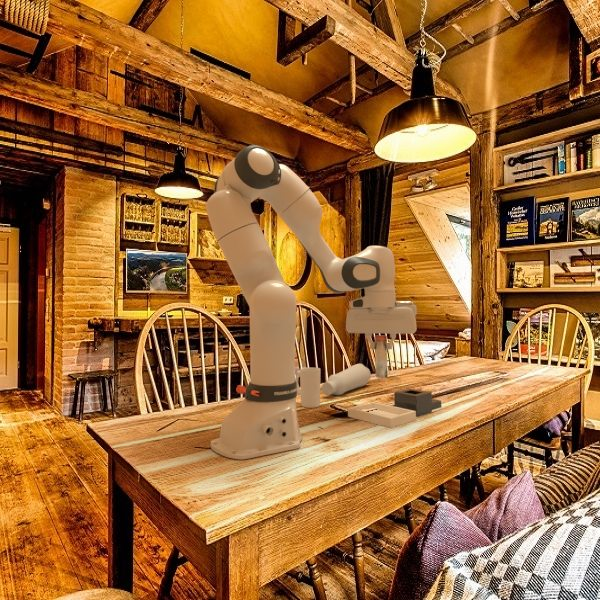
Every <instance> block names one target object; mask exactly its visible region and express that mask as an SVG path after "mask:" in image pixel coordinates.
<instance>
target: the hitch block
mask: <svg viewBox="0 0 600 600" xmlns="http://www.w3.org/2000/svg"><path fill="white" fill-rule="evenodd" d="M432 394H433V392H431V391H425V390H421V389H420V390H419V389H414V388H406V389H401V390H398V391H394V396H393V397H394V398H393V399H394V403H393V404H394V405H393V406H394V407H399V408H403V409H408V410H413V411H416V418H417V417H419V416H420V417H421V416H424V415H426V414H430V413H432V412H433V410H435V409H439V408H441V407H442V400H440V399H435V398H433V395H432Z"/></svg>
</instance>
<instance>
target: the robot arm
mask: <svg viewBox="0 0 600 600" xmlns="http://www.w3.org/2000/svg"><path fill="white" fill-rule="evenodd" d="M214 183H215V184H214V189H213V194H211V196H210V197H209V198H208V199H207V202H206V204H205V210H206V213H207V217H208V220H209V224H210V227H211V229H212V232H213V234H214V237H215V239H216V241H217V244H218V246H219V248H220V250H221V252H222V253H223V256H224V258H225V261H226V263H227V265H228V266H229V268H230V270H231V273H232V275H233V276H234V278H235V280H236V282H237V285H238V286H239V288H240V290H241V292H242V295H243V297H244V299H245V301H246V303H247V305H248V307H249V345H250V347H249V348H250V349H249V354H250V355H249V356H250V357H249V359H250V362H249V363H250V364H249V366H250V367H249V369H250V371H249V372H250V373H249V374H250V379H249V380H250V381H249V382H248V385H247V386H245V385H242V384H239V385H237V387H236V389H235V391H236V392H237V394H240V395H244V396H243V400H242V401H240V403H238V405H237V406H236V407H235V408H233V409H232V410H231V411H230V412H229V413H228V414H227V415H226V416H225V417H223V419H222V423H221V427H220V433H219V437H217V438H214V439H212V440H211V441H210V445H209V446H210V449H211V450H212V451H214V452H215V453H217V454H218V455H221V456H223V457H226V458H229V459H232V460H233V459H235V460H240V461H241V460H247V459H252V458H258V457H263V456H267V455H271V454H272V455H273V454H277V453H278V454H279V453H282V452H286V451H293V450H296V449H300V448H301V441H302V440H303V436H302V433H301V429H300V425H299V419H298V411H297V402H296V401H297V396H298V394H297V382H296V381H295V378H296V367H295V366H296V335H297V333H296V332H297V302H298V301H297V297H296V295H295V292H294V290H293V289H292V287H290V286H289V285H288V284H286V282H285V281H284V278H283V275H282V273H281V271H280V269H279V266H278V263H277V261H276V259H275V256H274V253H273V251H272V249H271V247H270V245H269V243H268V240H267V239H266V237H265V234H264V233H263V230H262V228H261V227H260V224H259V222H258V220H257V218H256V216H255V214H254V212H253V209H252V206H251V203H253V202H254V201H255V200H257V199H259V198H260V199H263V200H264V201H266V202H267V203H268V204H269V205H270V206H271V208H272V209H273V210H274V212H276V213H275V214H277V216H278V217H279V218H280V219H281V221H283V222H284V224H285V225H286V226H287V228H289V230H290V231H291V232H292V233H293V234H294V236H295V237H296V239H297V240H298V242H299V243H300V245H301V246H302V247H303V249H304V250H305V251H306V252H307V254H308V256H309V257H310V259H311V260H312V261H313V263H314V264H315V265H316V267H317V268H318V269H319V272H320V274H321V278H322V281H323V283H324V285H325V287H326V288H327V289H328V290H329V291H330V292H332V293H336V294H343V293H347V292H351V291H358V290H362V289H364V296H362V297H358V298H356V299H353V300H350V301H349V303H348V305H349V308H350V309H348V310H347V313H346V320H345V331H347V333H348V334H365V338H366V340H367V341H368V343H369V350H375V341H373V339H372V337H373V334H389V338H390V341H389V342H387V343H386V346H387V347H386V349H387V350H393V343H394V342H395V339H396V338H397V334H401V335H403V334H404V335H406V334H407V335H408V334H409V335H412V334H415V333H416V332H417V319H416V316H417V314H418V306H417V305H416V303H414V302H413V301H412V300H411V301H410V300H407V301H401V300H400V301H397V300H396V299H397V298H396V297H397V296H396V294H397V293H396V286H395V279H396V263H395V257H394V253H393V251H392V249H390V248H389V247H387V246H384V245H375V244H374V245H373V244H372V245H369V246H367V247H366V248H365V249H363V250H362V251H360V252H358V253H357V254H354V255H351V256H348V257H345V258H340V257H338V256H337V255H336V254H335V253H334V252H333V250H332V249H331V248H330V246H329V244H328V243H327V242H326V240H325V239H324V238H323V236H322V233H321V230H320V226H321V220H322V217H323V208H322V206H321V203H320V202H319V200H318V198H317V197H316V195H315V194H314V192H312V189H310V188H309V186H308V185H307V184H306V183H305V182H304V181H303V180H302V179H301V177H299V176H298V175H297V173H295V172H294V171H293V170H292V169H291V168H290V167H289V166H287V165H286V164H284V163H279V161H278V160H277V159H276V158H275V156H274V155H273V154H272V153H271V152H270V151H268V150H267V149H266V148H264V147H263V146H260V145H256V144H251V145H249V146H246V147H244V148H242V149H241V150H240V151H238V152H237V154H236V155H235V157H233V158H232V159H231V161H230V162H228V163H227V164H226V165H225V166H224V168H223V170H222V171H221V173H220V174H219V176H218V177H217V178H216V181H215V182H214Z"/></svg>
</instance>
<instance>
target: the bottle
mask: <svg viewBox="0 0 600 600" xmlns="http://www.w3.org/2000/svg"><path fill="white" fill-rule="evenodd" d="M371 374H372V373H371V371H370V369H369V368H368V367H367V366H365V365H364V364H363V363H357V364H354V365H351V366H349V367H348V368H346V369H343V370H342V371H340V372H337V373H334V374H331V375H330V376H329V377H328V378H327V380H326V382H324V383H322V385H321V391H322V393H323V394H324V395H325V396H330V395H334V396H337V397H338V396H342V395H343V394H345V393H346V392H349V391H352V390H354V389H359V388H363V387H364V386H365V385H367V384H368V383H369V381H370V379H371V377H372V375H371Z"/></svg>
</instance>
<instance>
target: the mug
mask: <svg viewBox="0 0 600 600" xmlns="http://www.w3.org/2000/svg"><path fill="white" fill-rule="evenodd" d="M296 372H297V373H296V374H295V381H296V382H297V396H300V406H301V407H302V408H308V409H310V408H311V409H314V408H319V407H320V406H321V368H320V367H302V368H299V370H297V371H296ZM299 378H300V379H299ZM299 383H300V385H299Z"/></svg>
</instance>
